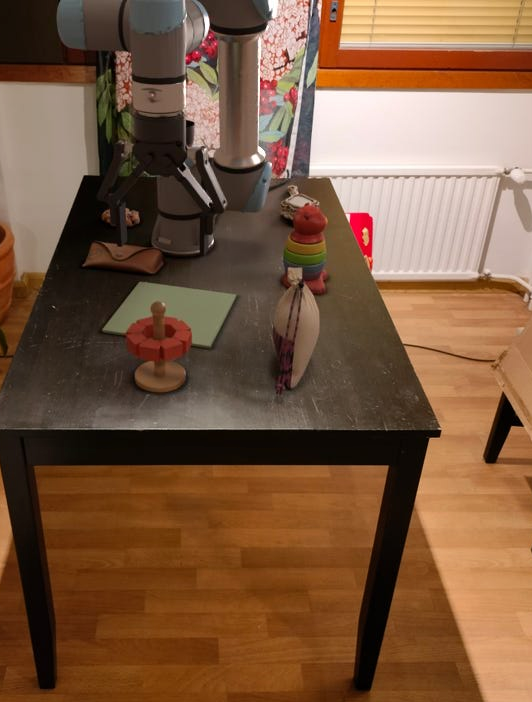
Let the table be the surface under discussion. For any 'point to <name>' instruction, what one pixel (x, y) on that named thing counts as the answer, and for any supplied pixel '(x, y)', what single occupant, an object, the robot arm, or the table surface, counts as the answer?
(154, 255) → the sunglasses case
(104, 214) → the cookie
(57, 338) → the table surface
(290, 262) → the stacking bear
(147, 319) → the ring
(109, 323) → the mat
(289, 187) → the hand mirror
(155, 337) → the ring post
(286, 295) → the pouch
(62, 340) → the table surface
